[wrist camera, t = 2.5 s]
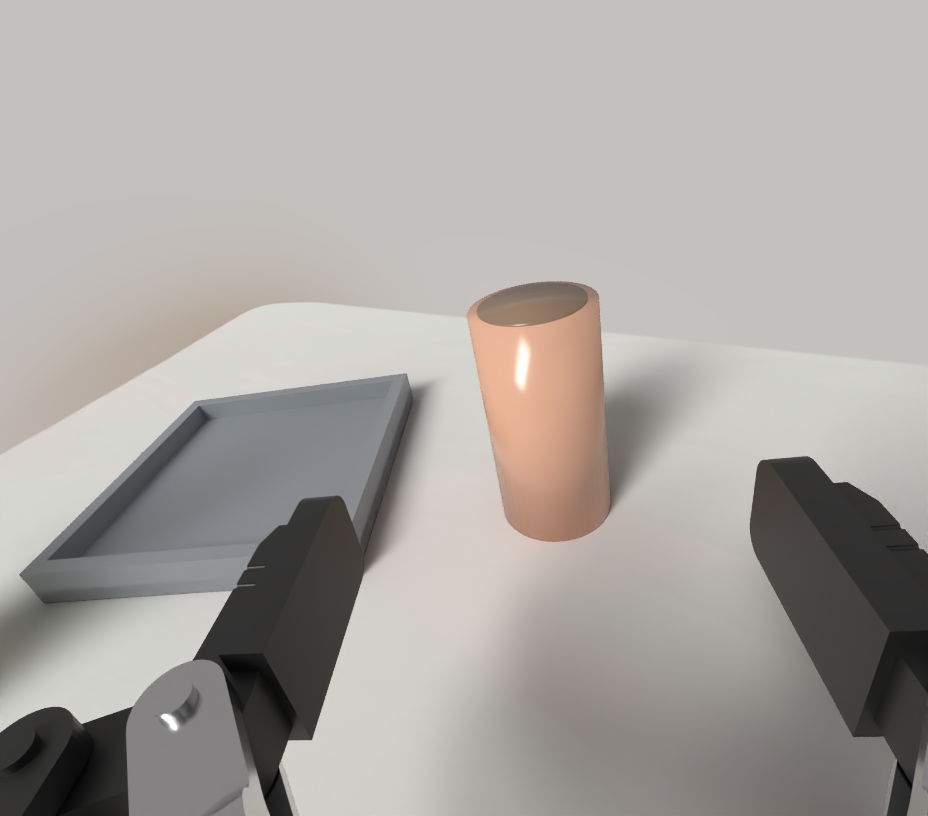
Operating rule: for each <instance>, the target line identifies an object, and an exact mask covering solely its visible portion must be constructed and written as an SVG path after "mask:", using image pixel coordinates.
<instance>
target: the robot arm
mask: <svg viewBox="0 0 928 816" xmlns="http://www.w3.org/2000/svg"><path fill="white" fill-rule="evenodd" d="M750 535H751V541H752V545H753V548H754V552H755V554H756V556H757V558H758V560H759V562H760V564H761V566H762V568H763V570H764V572H765V573H766V575H767V577H768V579H769V581H770V583H771V585H772V587H773V588H774V590H775V592H776V594H777V596H778V598H779V600H780V601H781V603H782V605H783V607H784V609H785V611H786V613H787V615H788V616H789V618H790V620H791V622H792V624H793V626H794V628H795V629H796V631H797V633H798V635H799V637H800V639H801V641H802V643H803V644H804V646H805V648H806V650H807V652H808V654H809V656H810V657H811V659H812V661H813V663H814V665H815V667H816V669H817V670H818V672H819V674H820V676H821V678H822V680H823V682H824V684H825V685H826V687H827V689H828V691H829V693H830V695H831V697H832V698H833V700H834V702H835V704H836V706H837V708H838V710H839V712H840V713H841V715H842V717H843V719H844V721H845V723H846V725H847V726H848V728H849V730H850V732H851V734H852V736H853V737H880V736H884V738H885V740H886V741H887V743H888V745H889V747H890V748H891V750H892V752H893V753H894V755H895V759H894V762H893V765H892V768H891V772H890V777H889V782H888V787H887V792H886V797H885V802H884V807H883V812H882V816H928V554H927V553H926V552H925V551H924V550H923V549H919V547H918V543H917V542H916V541H915V540H914V539H913V538H912V537H911V536H910V535H909V533H908V532H907V531H906V530H905V529H901V528H900V524H899V523H898V521H897V520H896V519H895V518H894V517H893V516H892V515H891V514H890V513H889V512H888V511H887V509H886V508H885V507H884V506H883V505H882V504H881V503H880V502H879V501H878V500H876V499H875V498H873V497H871V496H870V495H868V494H866V493H865V492H863V491H861V490H860V489H858V488H856V487H855V486H853V485H851V484H850V483H848V482H843V483H833V482H832V481H831V480H830V479H829V477H828V476H827V475H826V474H825V473H824V471H823V470H822V469H821V468H820V467H819V465H818V464H817V463H816V462H815V461H814V460H813V459H812V458H810V457H808V456H804V457H792V458H780V459H769V460H762V461H760V462H759V464H758V467H757V472H756V480H755V488H754V495H753V503H752V511H751V519H750ZM363 570H364V560H363V553H362V549H361V546H360V543H359V540H358V537H357V535H356V532H355V529H354V526H353V524H352V521H351V518H350V515H349V513H348V510H347V507H346V504H345V502H344V500H343V499H342V497H340V496H338V495H336V496H325V497H313V498H304V499H302V500H301V501H300V502H299V503H298V505H297V507H296V509H295V511H294V513H293V514H292V516H291V518H290V520H289V522H288V524H287V525H279V526H278V527H277V528H276V529H275V530H273V531H272V532H271V533H270V534H269V535H268V536H267V537H266V538H265V539H264V540H263V541H262V542H261V543H260V544H259V545H258V547H257V549H256V551H255V552H254V554H253V556H252V558H251V559H250V561H249V563H248V565H247V570H244V572H243V573H242V575H241V577H240V579H239V580H238V582H237V588H234V589H233V591H232V593H231V594H230V596H229V598H228V600H227V601H226V603H225V605H224V607H223V609H222V610H221V612H220V614H219V616H218V617H217V619H216V621H215V623H214V624H213V626H212V628H211V630H210V631H209V633H208V635H207V637H206V638H205V640H204V642H203V644H202V645H201V647H200V649H199V651H198V652H197V654H196V656H195V657H194V659H193V661H189V662H186V663H183V664H181V665H179V666H177V667H175V668H173V669H171V670H169V671H168V672H166V673H164V674H163V675H162V676H160V677H159V678H158V679H157V680H155V681H154V682H153V683H152V684H151V685H150V686H149V687H148V688H147V689H146V690H145V691H144V692H143V694H142V695H141V696H140V698H139V699H138V700H137V702H136V703H135V705H134V706H133V707H130V708H127V709H124V710H121V711H119V712H116V713H113V714H110V715H107V716H104V717H101V718H98V719H95V720H92V721H89V722H86V723H84V724H81V723H80V722H79V721H78V720H77V719H76V718H75V717H74V716H73V715H72V714H71V713H70V712H69V711H68V710H67V709H65V708H62V707H49V708H44V709H41V710H38V711H35V712H33V713H31V714H28V715H26V716H25V717H23V718H21V719H19V720H18V721H16V722H14V723H13V724H11V725H10V726H9V727H7V728H6V729H5V730H3V731H2V732H1V733H0V816H299V814H298V811H297V807H296V804H295V801H294V798H293V794H292V791H291V788H290V785H289V781H288V778H287V775H286V771H285V768H284V766H283V764H282V762H281V759H282V756H283V753H284V751H285V748H286V745H287V742H288V740H312V738H313V735H314V732H315V728H316V725H317V722H318V719H319V716H320V712H321V709H322V706H323V703H324V700H325V696H326V693H327V690H328V687H329V684H330V680H331V677H332V674H333V671H334V668H335V664H336V661H337V658H338V655H339V652H340V648H341V645H342V642H343V639H344V636H345V632H346V629H347V626H348V623H349V620H350V616H351V613H352V610H353V607H354V604H355V600H356V597H357V594H358V591H359V588H360V584H361V581H362V577H363Z"/></svg>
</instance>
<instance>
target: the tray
mask: <svg viewBox="0 0 928 816" xmlns="http://www.w3.org/2000/svg"><path fill="white" fill-rule="evenodd" d="M412 401H413V395H412V392H411V388H410V384H409V381H408V377H407V373H406V374H398V375H390V376H383V377H375V378H368V379H360V380H353V381H345V382H337V383H330V384H322V385H315V386H307V387H300V388H292V389H284V390H277V391H269V392H262V393H254V394H247V395H239V396H232V397H224V398H216V399H209V400H201V401H195V402H194V403H193V404H192V405H191V406H190V407H189V408H188V409H187V410H186V411H184V412H183V413H182V414H181V415H180V416H179V417H178V418H177V419H176V420H175V421H174V422H173V423H172V424H171V425H170V426H169V427H168V428H167V429H166V430H165V431H164V432H163V433H162V434H161V435H160V436H159V437H158V438H157V439H156V440H155V441H154V442H153V443H152V444H151V445H150V446H149V447H148V448H147V449H146V450H145V451H144V452H143V453H142V454H141V455H140V456H139V457H138V458H137V459H136V460H135V461H134V462H133V463H132V464H131V465H130V466H129V467H128V468H127V469H126V470H125V471H124V472H123V473H122V474H121V475H120V476H119V477H118V478H117V479H116V480H115V481H114V482H113V483H112V484H111V485H110V486H108V487H107V488H106V489H105V490H104V491H103V492H102V493H101V494H100V495H99V496H98V497H97V498H96V499H95V500H94V501H93V502H92V503H91V504H90V505H89V506H88V507H87V508H86V509H85V510H84V511H83V512H82V513H81V514H80V515H79V516H78V517H77V518H76V519H75V520H74V521H73V522H72V523H71V524H70V525H69V526H68V527H67V528H66V529H65V530H64V531H63V532H62V533H61V534H60V535H59V536H58V537H57V538H56V539H55V540H54V541H53V542H52V543H51V544H50V545H49V546H48V547H47V548H46V549H45V550H44V551H43V552H42V553H41V554H40V555H39V556H38V557H37V558H36V559H35V560H33V561H32V562H31V563H30V564H29V565H28V566H27V567H26V568H25V569H24V570H23V571H22V572H21V573H20V574H19V575H20V576H21V577H22V579H23V580H24V581H25V582H26V583H27V584H28V585H29V587H30V588H31V589H32V590H33V591H34V592H35V593H36V595H37V596H38V597H39V598H40V599H41V600H42V601H43V603H52V602H66V601H81V600H96V599H110V598H125V597H140V596H155V595H169V594H184V593H199V592H213V591H228V590H233V589H234V588H237V582H238V580H239V579H240V577H241V575H242V573H243V572H244V570H247V565H248V563H249V561H250V559H251V558H252V556H253V554H254V552H255V551H256V549H257V547H258V545H259V544H260V543H261V542H262V541H263V540H264V539H265V538H266V537H267V536H268V535H269V534H270V533H271V532H272V531H273V530H275V529H276V528H277V527H278V526H279V525H287V524H288V522H289V520H290V518H291V516H292V514H293V513H294V511H295V509H296V507H297V505H298V503H299V502H300V501H301V500H302V499H304V498H313V497H325V496H336V495H338V496H340V497H342V499H343V500H344V502H345V504H346V507H347V510H348V513H349V515H350V518H351V521H352V524H353V526H354V529H355V532H356V535H357V537H358V540H359V543H360V546H361V549H362V553H363V557H364V554H365V551H366V547H367V544H368V541H369V538H370V535H371V531H372V528H373V525H374V522H375V519H376V516H377V512H378V509H379V506H380V503H381V500H382V497H383V493H384V490H385V487H386V484H387V481H388V477H389V474H390V471H391V468H392V465H393V462H394V458H395V455H396V452H397V449H398V446H399V443H400V439H401V436H402V433H403V430H404V427H405V423H406V420H407V417H408V414H409V411H410V408H411V404H412Z"/></svg>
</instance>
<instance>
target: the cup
mask: <svg viewBox="0 0 928 816" xmlns="http://www.w3.org/2000/svg"><path fill="white" fill-rule="evenodd" d="M467 320H468V325H469V330H470V335H471V341H472V346H473V351H474V356H475V361H476V367H477V372H478V377H479V382H480V388H481V393H482V398H483V403H484V409H485V414H486V419H487V424H488V429H489V435H490V440H491V445H492V450H493V456H494V461H495V466H496V471H497V477H498V482H499V487H500V492H501V497H502V503H503V508H504V513H505V516H506V518H507V521H508V522H509V523H510V525H511V526H512V527H513V528H514V529H515V530H517V531H518V532H519V533H521V534H523V535H525V536H527V537H530V538H533V539H537V540H542V541H551V542H557V541H567V540H572V539H576V538H579V537H582V536H584V535H586V534H589V533H590V532H592V531H594V530H595V529H596V528H598V527H599V526H600V525H601V524H602V523H603V522H604V520H605V519H606V517H607V515H608V513H609V510H610V487H609V469H608V451H607V433H606V415H605V397H604V379H603V361H602V343H601V326H600V308H599V295H598V293H597V292H596V291H595V290H594V289H592V288H591V287H588V286H586V285H583V284H579V283H573V282H538V283H530V284H524V285H519V286H515V287H511V288H507V289H504V290H501V291H498V292H495V293H493V294H490V295H488V296H486V297H484V298H482V299H480V300H479V301H477V302H476V303H475V304H473V305H472V306H471V307H470V309H469V310H468V313H467Z"/></svg>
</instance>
